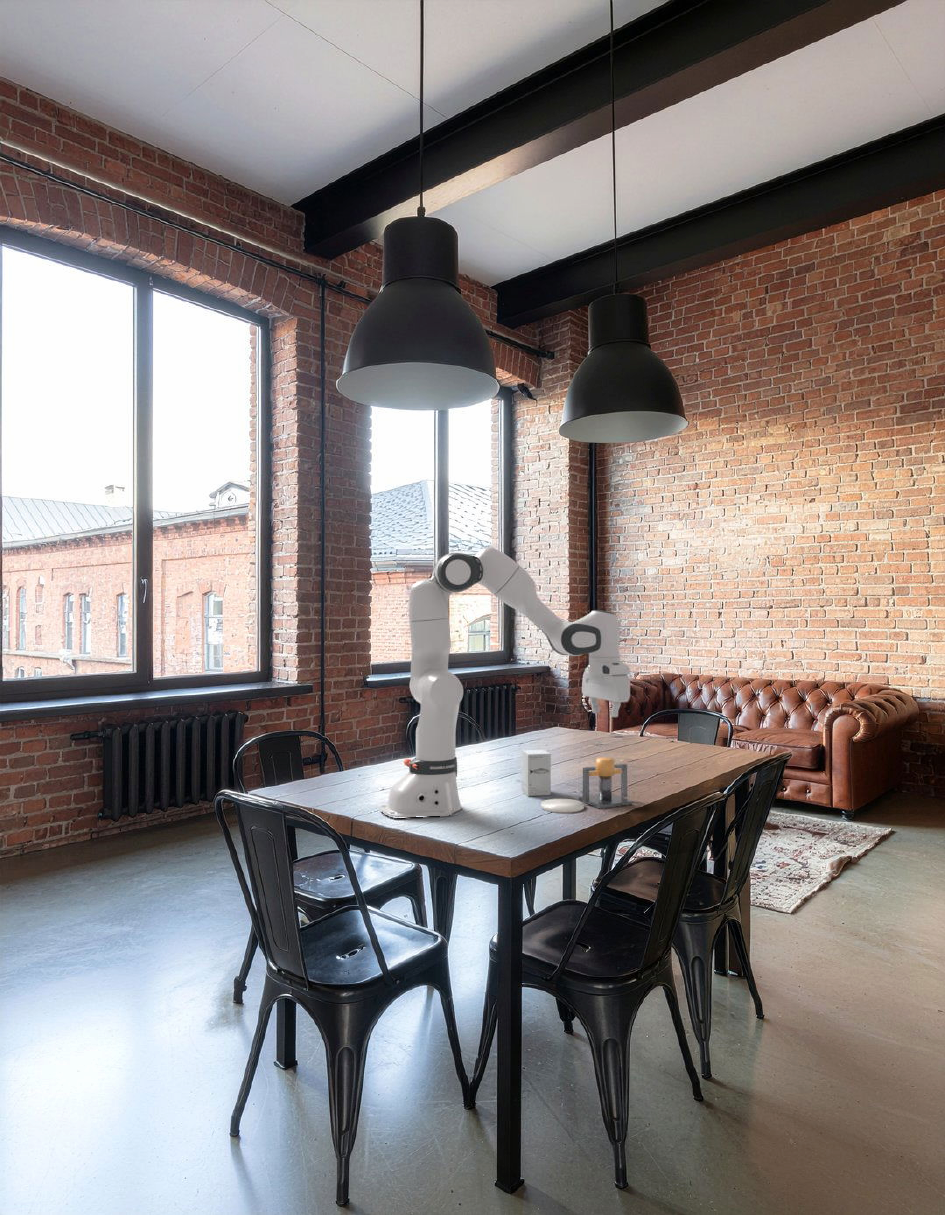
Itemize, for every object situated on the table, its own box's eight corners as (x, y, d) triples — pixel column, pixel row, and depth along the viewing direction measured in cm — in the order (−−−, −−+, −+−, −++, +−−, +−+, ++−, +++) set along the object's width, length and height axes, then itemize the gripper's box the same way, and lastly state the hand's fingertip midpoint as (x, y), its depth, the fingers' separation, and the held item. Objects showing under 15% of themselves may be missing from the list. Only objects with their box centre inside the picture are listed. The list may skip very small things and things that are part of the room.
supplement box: (527, 797, 232) (527, 754, 232) (521, 791, 239) (520, 749, 239) (551, 795, 233) (551, 753, 233) (544, 790, 240) (544, 749, 241)
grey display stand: (594, 809, 217) (594, 771, 217) (574, 800, 227) (574, 764, 227) (637, 804, 222) (636, 767, 222) (615, 796, 232) (615, 760, 232)
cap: (594, 777, 220) (594, 762, 220) (584, 774, 225) (584, 759, 225) (625, 774, 224) (625, 759, 224) (615, 771, 229) (615, 756, 229)
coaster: (554, 814, 211) (554, 811, 211) (533, 804, 222) (533, 801, 222) (592, 810, 216) (592, 806, 216) (570, 800, 227) (570, 797, 227)
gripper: (576, 664, 233) (576, 711, 233) (614, 669, 214) (615, 720, 214) (594, 664, 236) (595, 710, 235) (633, 668, 217) (634, 718, 217)
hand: (604, 714), depth 225 cm, fingers open, 8 cm apart
